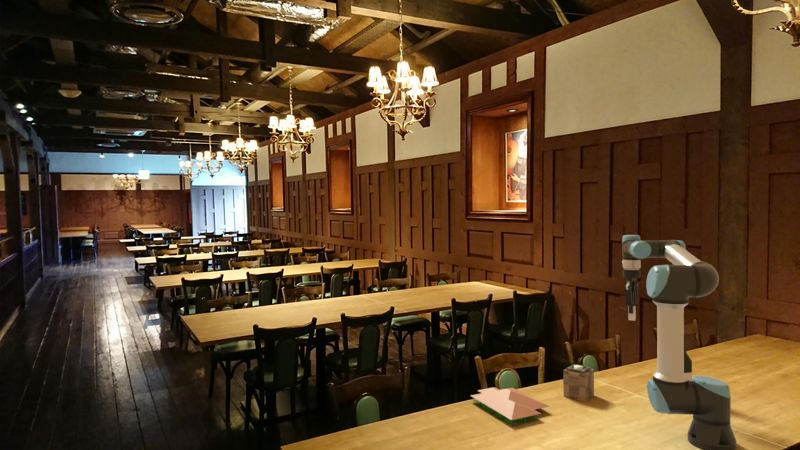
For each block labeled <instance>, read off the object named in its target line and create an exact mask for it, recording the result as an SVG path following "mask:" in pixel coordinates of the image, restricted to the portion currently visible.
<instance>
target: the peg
mask: <svg viewBox="0 0 800 450" xmlns="http://www.w3.org/2000/svg"><path fill="white" fill-rule="evenodd" d="M583 366H584V365H581V364H576V365H574V369H579V370H583Z"/></svg>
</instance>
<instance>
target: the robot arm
mask: <svg viewBox="0 0 800 450" xmlns="http://www.w3.org/2000/svg"><path fill="white" fill-rule="evenodd" d="M621 244H622V247H621V248H622V261H621V263H622V268H623V269H622V277H623V278H625V279H626V281H625V285H624V286H623V288H624V294H625V303H626V305H625V306H626V307H627V308H628V309H627V314H628V315H627V318H628V319H627V320H628V321H632V322H633V321H634V322H635V321H636V317H637V316H636V314H637V313H636V308H637V307H638V299H639V298H638V297H639V286H640V282H638V279H640V278H642V277H641V276H642V275H641V268H642V265H641V263H642V262H641V259H648V258H649V259H650V258H651V259H654V258H655V259H657V258H658V259H660V258H662V259H663V258H664V259H667V261H668V262H670V263H671V264H661V265H660V264H659V265H654V266H653V267H651V268H650V270H649V271H648V274H647V277H646V283H645V285H646V286H645V287H646V293H647V296H649V297H650V298H652V303H654V305H656V329H657V331H656V338H657V340H656V341H657V342H656V344H657V345H656V347H657V349H656V351H657V353H656V355H657V356H656V359H657V361H656V362H657V363H656V366H657V367H656V368H657V370H655V371H654V372H652V379H648V380H647V383H646V390H647V396H648V399H649V403H650V404H651V407H652V408H653V410H654V411H655V412H656V413H659V414H666V415H667V414H668V415H692V420H691V422H690V426H689V428H688V430H687V441H688V442H689V443H690V444H691V445H693V446H695V447H697V448H700V449H701V450H702V449H703V450H737V439H736V436H735V434H734V431H733V429H732V425H731V414H732V413H731V410H732V409H731V398H732V396H731V387H730V386H729V384H728V383H726V382H724V381H723V380H720V379H718V378H714V377H711V376H706V375H694V376H693V375H692V381H689V378H688V377H687V376H686V375H685V374H684V331H685V322H684V321H685V319H684V315H685V314H684V313H685V311H684V309H685V307H686V306H687V305H689V298H701V297H706V296H708V295H710V294H711V293H713V292H714V291H715V290H716V288H717V287H718V286H719V281H720V277H719V272H718V271H717V269H716V268H715V267H714V265H712V264H710V263H708V262H706V261H703V260H700V259H699V258H697V257H696V256H695V255H693V254H691V252H689V251H688V250H687V246H686V244H685V242H684V241H683V240H680V239H679V240H677V239H668V240H667V239H666V240H663V239H662V240H641V236H640V235H639V234H624V235H622V241H621Z"/></svg>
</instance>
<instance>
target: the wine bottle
mask: <svg viewBox="0 0 800 450" xmlns="http://www.w3.org/2000/svg"><path fill="white" fill-rule="evenodd" d="M684 374H685V375H686V376H687V377H688V378H689V381H693V380H692V378H693V360H692V359H691V358H690V356H689V354H688V353H687V333H686V332H685V330H684Z"/></svg>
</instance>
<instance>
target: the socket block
mask: <svg viewBox="0 0 800 450" xmlns="http://www.w3.org/2000/svg"><path fill="white" fill-rule="evenodd" d="M574 365H577V364H575V363H574V364H572V365H570V366H568V367H566V368H565V369H563V370H562V371H563V375H562V376H563V378H562V380H563V397H565V398H570V399H573V400H576V401H577V400H578V401H580V402H581V401H582V402H586V401H588V400H589V399H591V398H592V397H594V396H595V375H594V374H595V372H594V371H595V370H594V369H593V368H592V367H590V366H586V365H582V366H583V370H579V369H574Z"/></svg>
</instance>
